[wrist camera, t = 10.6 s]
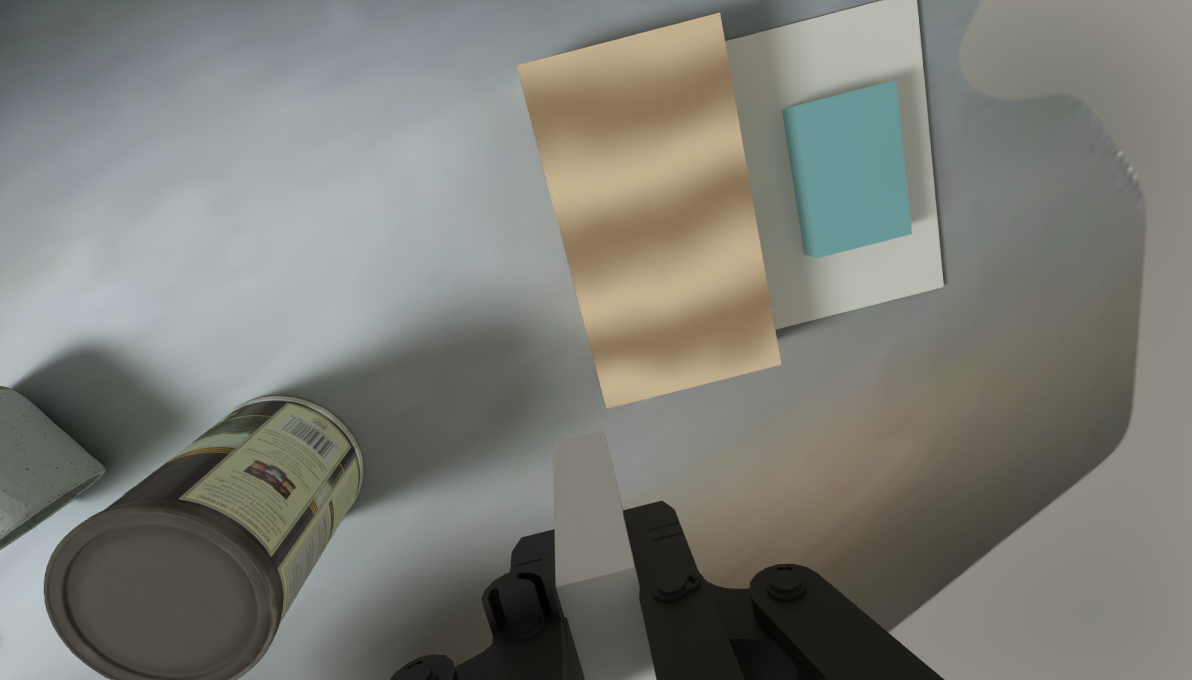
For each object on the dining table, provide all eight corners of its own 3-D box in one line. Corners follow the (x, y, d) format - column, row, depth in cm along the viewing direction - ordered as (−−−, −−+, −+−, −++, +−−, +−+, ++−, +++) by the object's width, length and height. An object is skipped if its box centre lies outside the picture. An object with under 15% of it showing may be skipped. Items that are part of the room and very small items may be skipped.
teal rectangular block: (816, 258, 38) (804, 254, 40) (912, 234, 38) (895, 230, 40) (793, 106, 36) (781, 109, 38) (896, 80, 36) (878, 84, 38)
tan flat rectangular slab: (760, 346, 42) (781, 364, 38) (602, 386, 42) (606, 408, 38) (703, 28, 37) (720, 12, 33) (521, 76, 37) (516, 65, 33)
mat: (941, 286, 42) (943, 286, 41) (765, 330, 42) (767, 331, 41) (913, -8, 37) (916, -9, 36) (714, 44, 37) (715, 43, 36)
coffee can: (200, 515, 43) (35, 676, 29) (219, 378, 41) (47, 485, 27) (351, 546, 44) (260, 713, 31) (378, 415, 42) (291, 534, 28)
